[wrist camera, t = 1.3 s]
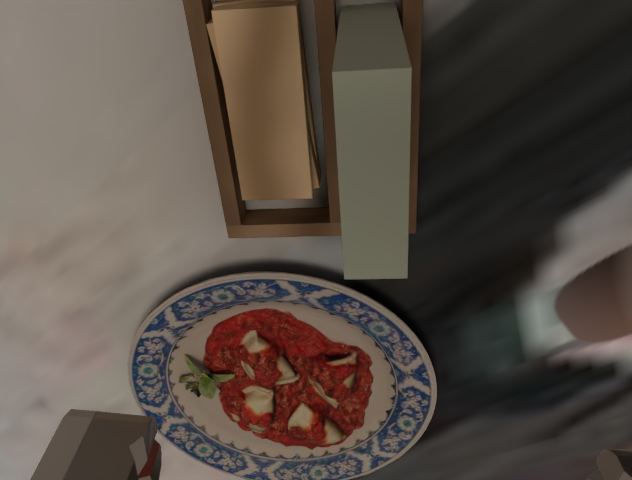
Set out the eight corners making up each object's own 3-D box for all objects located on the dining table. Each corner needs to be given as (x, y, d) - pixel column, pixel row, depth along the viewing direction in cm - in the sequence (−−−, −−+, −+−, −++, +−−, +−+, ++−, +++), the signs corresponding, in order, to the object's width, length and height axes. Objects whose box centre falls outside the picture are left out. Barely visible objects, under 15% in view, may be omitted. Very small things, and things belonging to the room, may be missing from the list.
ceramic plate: (491, 318, 43) (499, 345, 41) (363, 491, 57) (363, 519, 55) (168, 210, 40) (155, 232, 37) (116, 422, 54) (104, 449, 51)
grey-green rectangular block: (395, 2, 31) (411, 67, 21) (394, 165, 36) (407, 278, 27) (341, 5, 31) (332, 71, 21) (348, 167, 37) (344, 279, 27)
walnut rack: (421, -83, 29) (425, -80, 27) (413, 217, 38) (415, 233, 37) (181, -64, 30) (171, -60, 28) (234, 222, 40) (228, 238, 38)
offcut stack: (301, -13, 31) (295, 0, 28) (325, 175, 38) (322, 202, 35) (212, -2, 32) (196, 12, 29) (250, 180, 38) (241, 207, 35)
